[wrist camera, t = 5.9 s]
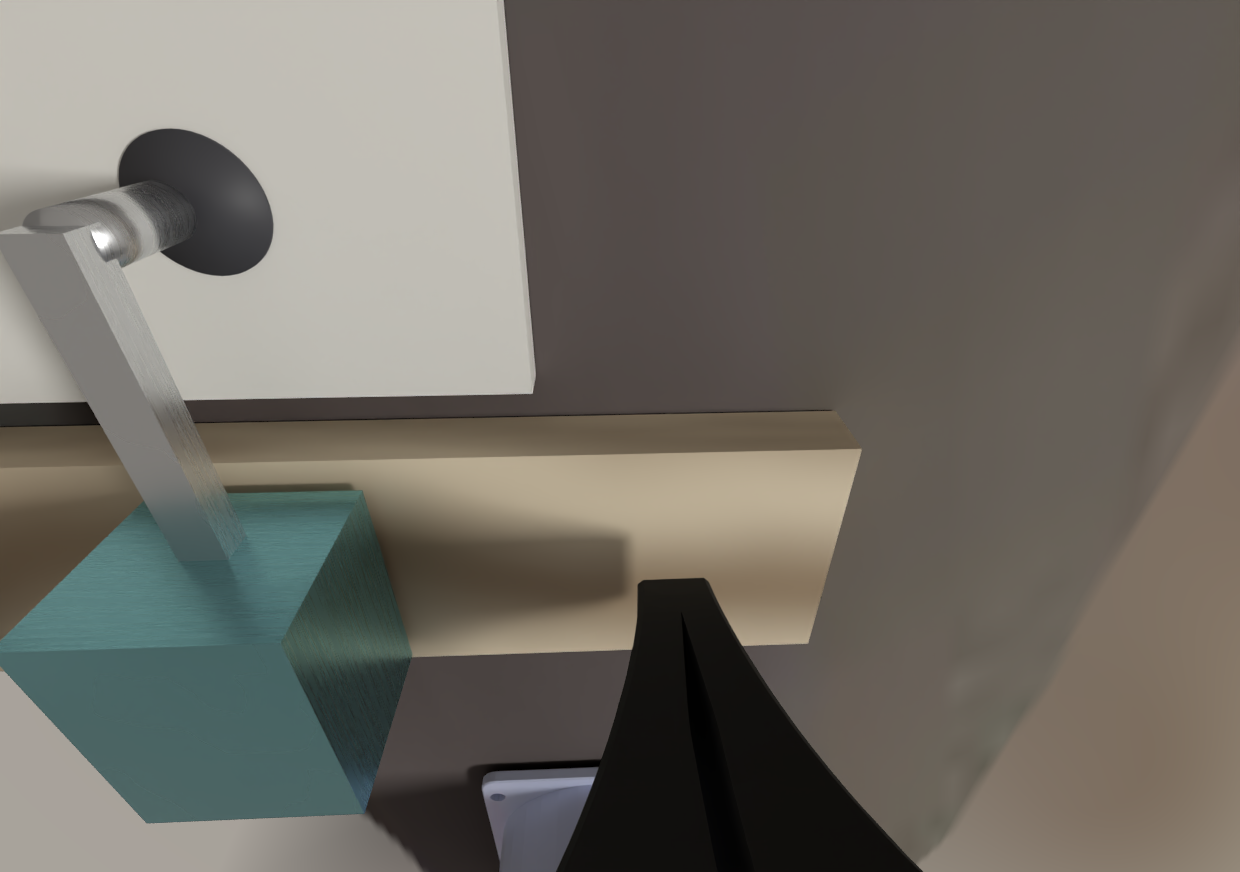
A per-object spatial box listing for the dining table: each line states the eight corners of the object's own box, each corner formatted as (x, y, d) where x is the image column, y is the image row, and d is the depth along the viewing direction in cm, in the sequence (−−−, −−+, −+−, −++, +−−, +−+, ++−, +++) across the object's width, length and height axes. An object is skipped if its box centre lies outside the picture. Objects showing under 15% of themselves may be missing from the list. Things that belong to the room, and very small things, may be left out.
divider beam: (790, 597, 16) (861, 788, 12) (-115, 626, 15) (-386, 842, 11) (893, 165, 10) (1110, 238, 6) (-590, 171, 9) (-1589, 261, 5)
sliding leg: (418, 633, 14) (364, 813, 11) (254, 639, 14) (146, 823, 11) (288, 179, 9) (89, 254, 5) (13, 181, 9) (-380, 260, 5)
